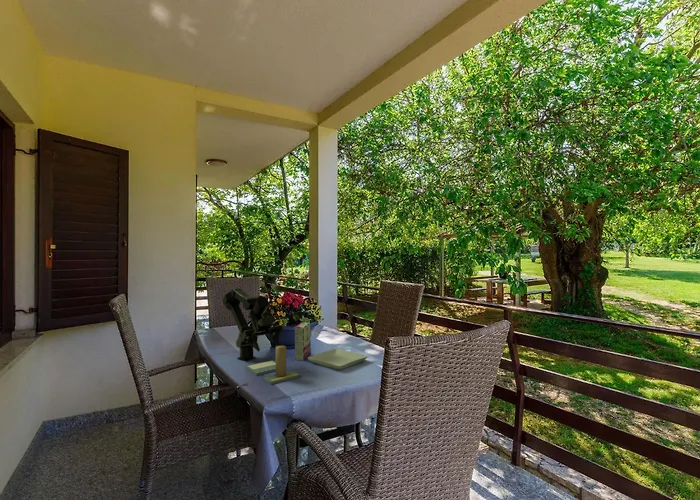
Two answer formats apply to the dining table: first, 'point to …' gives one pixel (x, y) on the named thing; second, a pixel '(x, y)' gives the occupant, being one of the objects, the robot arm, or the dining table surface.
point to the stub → (281, 368)
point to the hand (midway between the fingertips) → (268, 349)
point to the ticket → (262, 367)
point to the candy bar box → (302, 341)
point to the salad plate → (337, 358)
